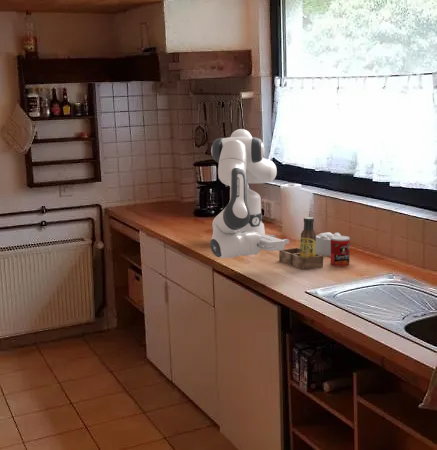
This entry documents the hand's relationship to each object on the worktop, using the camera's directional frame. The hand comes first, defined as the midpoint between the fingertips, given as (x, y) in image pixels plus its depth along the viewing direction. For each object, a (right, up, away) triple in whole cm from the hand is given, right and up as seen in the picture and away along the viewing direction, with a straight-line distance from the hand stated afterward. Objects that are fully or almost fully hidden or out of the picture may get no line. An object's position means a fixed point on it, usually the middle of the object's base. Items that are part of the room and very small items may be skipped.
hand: (281, 239), depth 280 cm
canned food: (+25, -11, +11) cm, 29 cm away
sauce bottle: (+11, -11, +9) cm, 18 cm away
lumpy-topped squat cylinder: (+24, -7, +30) cm, 40 cm away
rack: (+9, -10, +13) cm, 19 cm away
